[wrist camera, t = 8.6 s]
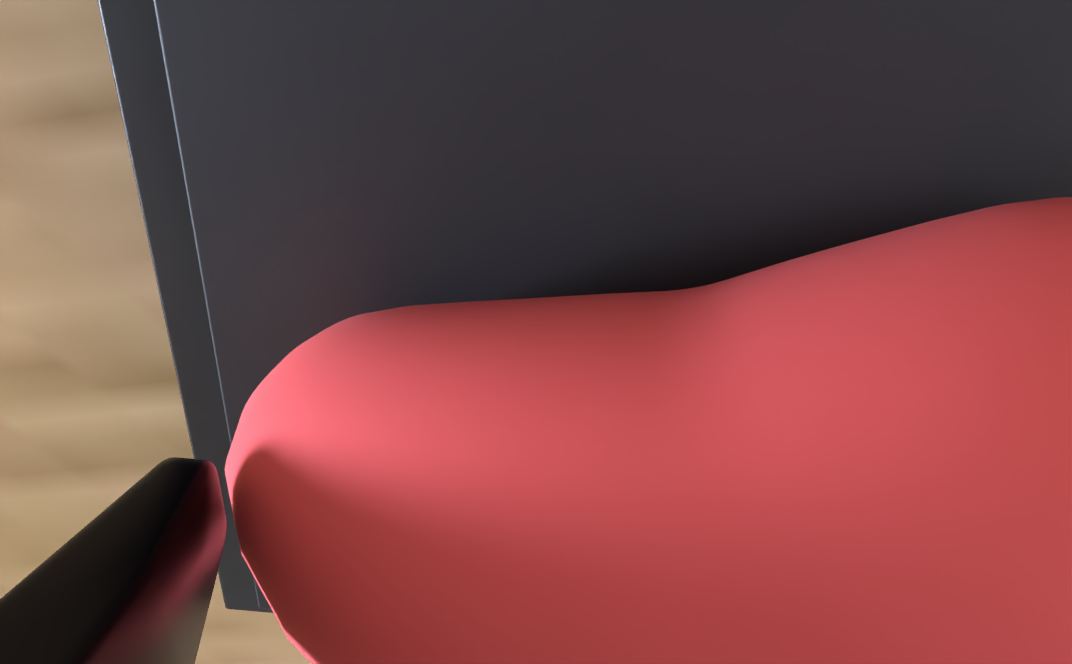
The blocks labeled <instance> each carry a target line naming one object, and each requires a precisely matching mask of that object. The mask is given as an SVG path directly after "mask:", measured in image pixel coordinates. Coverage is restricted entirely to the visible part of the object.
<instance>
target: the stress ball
mask: <svg viewBox="0 0 1072 664" xmlns="http://www.w3.org/2000/svg"><path fill="white" fill-rule="evenodd" d="M225 475H226V480H227V485H228V490H229V496H230V501H231V506H232V511H233V516H234V521H235V526H236V531H237V536H238V541H239V545H240V549H241V553H242V556H243V558H244V559H245V561H246V563H247V565H248V567H249V569H250V570H251V572H252V574H253V576H254V578H255V580H256V581H257V583H258V585H259V587H260V589H261V591H262V592H263V594H264V596H265V598H266V600H267V601H268V603H269V605H270V607H271V609H272V611H273V612H274V614H275V616H276V618H277V620H278V622H279V623H280V625H281V627H282V629H283V631H284V633H285V634H286V636H287V638H288V640H289V641H290V642H291V643H292V644H293V645H294V646H295V647H296V648H297V649H298V650H299V651H300V652H301V653H302V654H303V655H304V656H305V657H306V658H307V659H308V660H309V661H310V662H311V663H312V664H1072V197H1056V198H1048V199H1040V200H1032V201H1025V202H1017V203H1009V204H1002V205H997V206H992V207H987V208H983V209H979V210H975V211H970V212H966V213H962V214H958V215H954V216H949V217H945V218H941V219H937V220H933V221H929V222H925V223H921V224H918V225H914V226H910V227H906V228H903V229H899V230H895V231H891V232H888V233H884V234H880V235H877V236H873V237H869V238H866V239H862V240H858V241H855V242H851V243H848V244H844V245H840V246H837V247H833V248H829V249H826V250H823V251H819V252H816V253H812V254H809V255H805V256H802V257H798V258H795V259H792V260H788V261H785V262H781V263H778V264H775V265H772V266H768V267H765V268H762V269H759V270H756V271H753V272H749V273H746V274H743V275H740V276H737V277H734V278H730V279H727V280H724V281H720V282H717V283H713V284H709V285H705V286H700V287H694V288H688V289H681V290H672V291H656V292H633V293H610V294H593V295H576V296H559V297H542V298H526V299H508V300H490V301H472V302H455V303H440V304H425V305H413V306H405V307H398V308H393V309H387V310H381V311H376V312H370V313H365V314H360V315H356V316H353V317H350V318H347V319H345V320H342V321H340V322H338V323H336V324H334V325H332V326H330V327H328V328H326V329H325V330H323V331H321V332H320V333H318V334H316V335H315V336H313V337H312V338H310V339H308V340H307V341H305V342H304V343H302V344H301V345H299V346H298V347H296V348H295V349H294V350H293V351H291V352H290V353H289V354H288V355H287V356H286V357H285V358H284V359H283V360H282V361H281V362H280V363H279V364H278V365H277V366H276V367H275V368H274V369H273V370H272V371H271V372H270V373H269V374H268V375H267V376H266V377H265V378H264V379H263V381H262V382H261V383H260V384H259V386H258V387H257V388H256V389H255V391H254V392H253V393H252V395H251V397H250V398H249V400H248V401H247V403H246V405H245V407H244V409H243V412H242V414H241V417H240V420H239V423H238V426H237V429H236V432H235V435H234V438H233V441H232V444H231V447H230V450H229V453H228V456H227V460H226V465H225Z"/></svg>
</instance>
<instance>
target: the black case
mask: <svg viewBox="0 0 1072 664" xmlns="http://www.w3.org/2000/svg"><path fill="white" fill-rule="evenodd" d="M98 4H99V9H100V13H101V18H102V23H103V28H104V32H105V37H106V42H107V47H108V51H109V56H110V61H111V66H112V70H113V75H114V80H115V85H116V89H117V94H118V99H119V104H120V108H121V113H122V118H123V123H124V127H125V132H126V137H127V142H128V146H129V151H130V156H131V161H132V165H133V170H134V175H135V180H136V184H137V189H138V194H139V199H140V203H141V208H142V213H143V218H144V222H145V227H146V232H147V237H148V241H149V246H150V251H151V256H152V260H153V265H154V270H155V275H156V279H157V284H158V289H159V294H160V298H161V303H162V308H163V313H164V317H165V322H166V327H167V332H168V336H169V341H170V346H171V351H172V355H173V360H174V365H175V370H176V374H177V379H178V384H179V389H180V393H181V398H182V403H183V408H184V412H185V417H186V422H187V427H188V431H189V436H190V441H191V446H192V450H193V455H194V459H198V460H207V461H210V462H212V463H213V464H214V466H215V467H216V470H217V473H218V478H219V483H220V488H221V494H222V499H223V504H224V510H225V515H226V538H225V543H224V548H223V552H222V556H221V560H220V564H219V568H218V574H219V578H220V583H221V588H222V593H223V597H224V602H225V607H226V608H227V609H235V610H247V611H258V612H270V613H274V612H273V611H272V609H271V607H270V605H269V603H268V601H267V600H266V598H265V596H264V594H263V592H262V591H261V589H260V587H259V585H258V583H257V581H256V580H255V578H254V576H253V574H252V572H251V570H250V569H249V567H248V565H247V563H246V561H245V559H244V558H243V556H242V553H241V549H240V545H239V541H238V536H237V531H236V526H235V521H234V516H233V511H232V506H231V501H230V496H229V490H228V485H227V480H226V475H225V465H226V460H227V456H228V453H229V450H230V447H231V444H232V441H233V438H234V435H235V432H236V429H237V426H238V423H239V420H240V417H241V414H242V412H243V409H244V407H245V405H246V403H247V401H248V400H249V398H250V397H251V395H252V393H253V392H254V391H255V389H256V388H257V387H258V386H259V384H260V383H261V382H262V381H263V379H264V378H265V377H266V376H267V375H268V374H269V373H270V372H271V371H272V370H273V369H274V368H275V367H276V366H277V365H278V364H279V363H280V362H281V361H282V360H283V359H284V358H285V357H286V356H287V355H288V354H289V353H290V352H291V351H293V350H294V349H295V348H296V347H298V346H299V345H301V344H302V343H304V342H305V341H307V340H308V339H310V338H312V337H313V336H315V335H316V334H318V333H320V332H321V331H323V330H325V329H326V328H328V327H330V326H332V325H334V324H336V323H338V322H340V321H342V320H345V319H347V318H350V317H353V316H356V315H360V314H365V313H370V312H376V311H381V310H387V309H393V308H398V307H405V306H413V305H425V304H440V303H455V302H472V301H490V300H508V299H526V298H542V297H559V296H576V295H593V294H610V293H633V292H656V291H672V290H681V289H688V288H694V287H700V286H705V285H709V284H713V283H717V282H720V281H724V280H727V279H730V278H734V277H737V276H740V275H743V274H746V273H749V272H753V271H756V270H759V269H762V268H765V267H768V266H772V265H775V264H778V263H781V262H785V261H788V260H792V259H795V258H798V257H802V256H805V255H809V254H812V253H816V252H819V251H823V250H826V249H829V248H833V247H837V246H840V245H844V244H848V243H851V242H855V241H858V240H862V239H866V238H869V237H873V236H877V235H880V234H884V233H888V232H891V231H895V230H899V229H903V228H906V227H910V226H914V225H918V224H921V223H925V222H929V221H933V220H937V219H941V218H945V217H949V216H954V215H958V214H962V213H966V212H970V211H975V210H979V209H983V208H987V207H992V206H997V205H1002V204H1009V203H1017V202H1025V201H1032V200H1040V199H1048V198H1056V197H1072V0H98Z"/></svg>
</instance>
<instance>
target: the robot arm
mask: <svg viewBox="0 0 1072 664" xmlns="http://www.w3.org/2000/svg"><path fill="white" fill-rule="evenodd" d="M225 538H226V515H225V510H224V504H223V499H222V494H221V488H220V483H219V478H218V473H217V470H216V467H215V466H214V464H213V463H212V462H210V461H207V460H198V459H187V458H169V459H166V460H164V461H162V462H161V463H159V464H158V465H157V466H156V467H155V468H153V469H152V470H151V471H150V472H149V473H148V474H146V475H145V476H144V477H143V478H142V479H141V480H139V481H138V482H137V483H136V484H135V485H134V486H132V487H131V488H130V489H129V490H128V491H127V492H125V493H124V494H123V495H122V496H121V497H119V498H118V499H117V500H116V501H115V502H114V503H112V504H111V505H110V506H109V507H108V508H107V509H105V510H104V511H103V512H102V513H101V514H100V515H98V516H97V517H96V518H95V519H94V520H93V521H91V522H90V523H89V524H88V525H87V526H85V527H84V528H83V529H82V530H81V531H80V532H78V533H77V534H76V535H75V536H74V537H73V538H71V539H70V540H69V541H68V542H67V543H66V544H64V545H63V546H62V547H61V548H60V549H59V550H57V551H56V552H55V553H54V554H53V555H51V556H50V557H49V558H48V559H47V560H46V561H44V562H43V563H42V564H41V565H40V566H39V567H37V568H36V569H35V570H34V571H33V572H32V573H30V574H29V575H28V576H27V577H26V578H25V579H23V580H22V581H21V582H20V583H19V584H17V585H16V586H15V587H14V588H13V589H12V590H10V591H9V592H8V593H7V594H6V595H5V596H3V597H2V598H1V599H0V664H195V660H196V656H197V652H198V648H199V644H200V640H201V636H202V632H203V628H204V624H205V620H206V616H207V612H208V608H209V604H210V600H211V596H212V592H213V588H214V584H215V580H216V576H217V572H218V568H219V564H220V560H221V556H222V552H223V548H224V543H225Z"/></svg>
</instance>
